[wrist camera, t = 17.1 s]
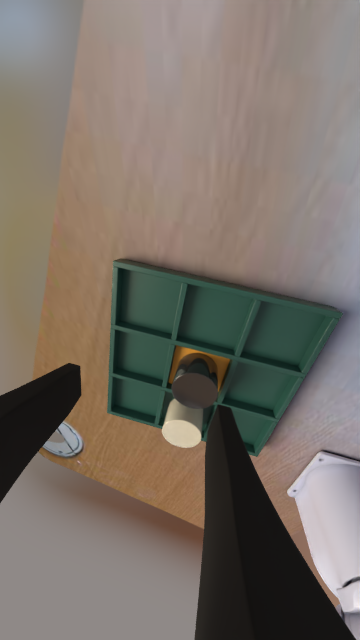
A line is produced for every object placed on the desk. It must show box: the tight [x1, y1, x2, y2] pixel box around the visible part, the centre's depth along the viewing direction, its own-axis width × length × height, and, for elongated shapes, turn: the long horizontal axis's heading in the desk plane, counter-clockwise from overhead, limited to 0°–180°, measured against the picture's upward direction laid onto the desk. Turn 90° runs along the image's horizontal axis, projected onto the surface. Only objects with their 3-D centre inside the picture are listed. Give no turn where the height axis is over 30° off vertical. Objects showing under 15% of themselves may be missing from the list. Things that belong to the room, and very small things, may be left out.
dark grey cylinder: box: [172, 353, 218, 409], centre depth 19 cm, size 4×4×3 cm
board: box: [107, 259, 343, 457], centre depth 21 cm, size 19×19×2 cm
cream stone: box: [162, 399, 203, 448], centre depth 22 cm, size 4×4×3 cm
